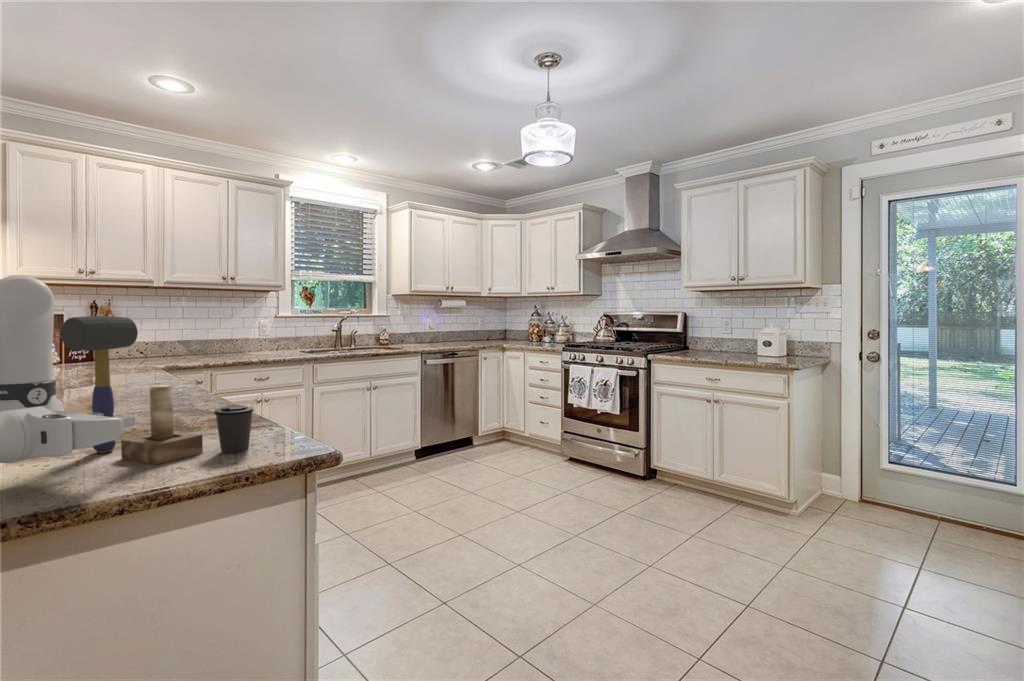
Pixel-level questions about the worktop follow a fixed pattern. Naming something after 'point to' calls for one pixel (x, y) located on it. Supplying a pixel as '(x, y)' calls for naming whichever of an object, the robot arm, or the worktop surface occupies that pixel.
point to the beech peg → (161, 412)
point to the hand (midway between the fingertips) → (116, 418)
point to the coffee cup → (234, 428)
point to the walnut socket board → (161, 448)
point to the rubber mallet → (100, 355)
